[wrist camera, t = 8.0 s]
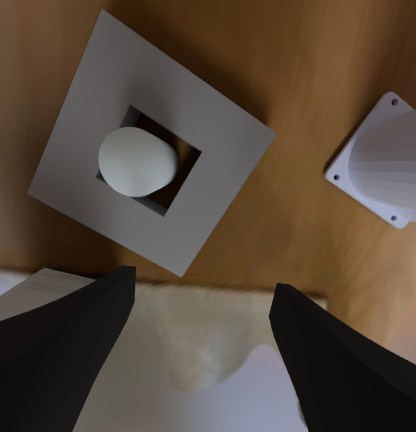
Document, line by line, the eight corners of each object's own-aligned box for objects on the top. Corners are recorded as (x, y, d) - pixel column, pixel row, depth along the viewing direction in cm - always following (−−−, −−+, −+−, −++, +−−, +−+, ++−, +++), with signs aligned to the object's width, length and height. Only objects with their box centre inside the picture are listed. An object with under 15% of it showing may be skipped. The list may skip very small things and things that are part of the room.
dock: (266, 137, 17) (276, 133, 15) (184, 263, 20) (181, 277, 18) (118, 33, 15) (101, 8, 13) (50, 189, 18) (26, 193, 16)
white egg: (187, 155, 17) (178, 150, 12) (166, 194, 18) (148, 208, 12) (145, 130, 17) (114, 112, 11) (126, 172, 18) (88, 176, 12)
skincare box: (39, 311, 21) (-310, 619, 7) (45, 262, 20) (-380, 521, 5) (117, 329, 22) (-50, 644, 8) (128, 283, 21) (-53, 563, 6)
